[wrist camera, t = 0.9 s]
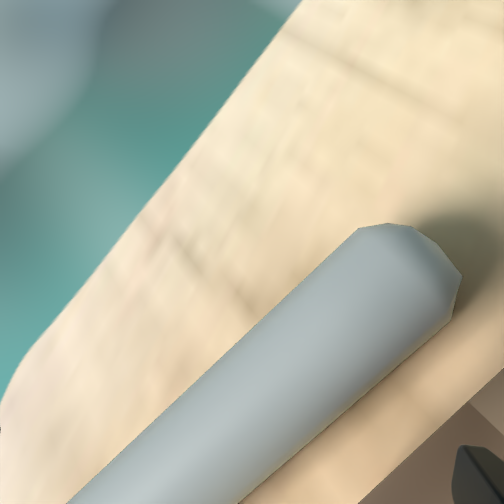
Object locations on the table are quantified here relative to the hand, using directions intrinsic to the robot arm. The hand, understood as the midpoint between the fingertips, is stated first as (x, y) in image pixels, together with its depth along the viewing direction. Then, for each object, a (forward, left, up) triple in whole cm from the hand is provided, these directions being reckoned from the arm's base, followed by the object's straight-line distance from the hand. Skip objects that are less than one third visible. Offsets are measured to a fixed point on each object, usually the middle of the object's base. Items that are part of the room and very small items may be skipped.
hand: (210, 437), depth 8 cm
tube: (+3, +5, -12) cm, 14 cm away
